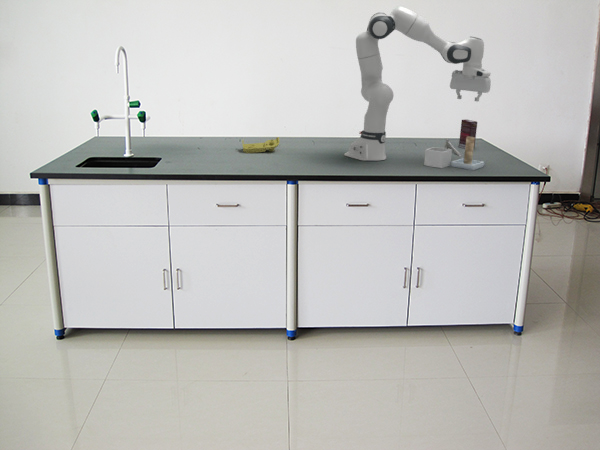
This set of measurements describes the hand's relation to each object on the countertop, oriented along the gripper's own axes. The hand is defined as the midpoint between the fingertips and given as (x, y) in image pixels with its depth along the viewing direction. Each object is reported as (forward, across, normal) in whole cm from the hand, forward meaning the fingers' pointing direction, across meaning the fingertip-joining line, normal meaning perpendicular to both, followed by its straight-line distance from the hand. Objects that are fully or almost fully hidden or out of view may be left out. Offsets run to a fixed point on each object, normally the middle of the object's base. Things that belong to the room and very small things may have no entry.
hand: (467, 100), depth 300 cm
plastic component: (+34, -88, -57) cm, 110 cm away
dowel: (+31, +6, -4) cm, 32 cm away
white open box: (+32, -6, -13) cm, 35 cm away
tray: (+32, +6, -4) cm, 33 cm away
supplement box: (+32, -16, +39) cm, 53 cm away
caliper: (+32, -16, +22) cm, 42 cm away
